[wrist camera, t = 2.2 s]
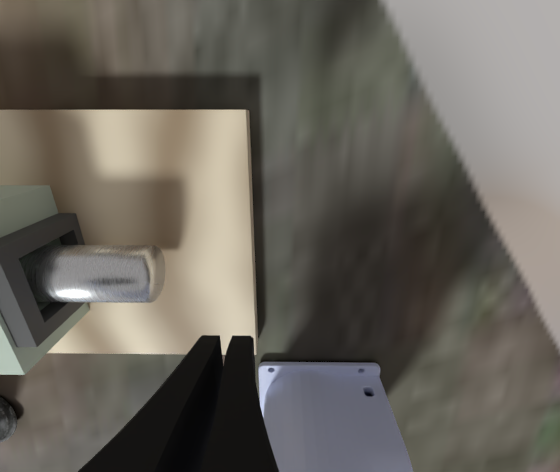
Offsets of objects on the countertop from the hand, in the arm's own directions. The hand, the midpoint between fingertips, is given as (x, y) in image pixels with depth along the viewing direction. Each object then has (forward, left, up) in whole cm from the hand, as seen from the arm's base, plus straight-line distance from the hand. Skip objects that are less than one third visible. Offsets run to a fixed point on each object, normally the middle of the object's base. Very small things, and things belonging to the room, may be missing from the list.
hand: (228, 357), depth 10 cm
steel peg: (+10, 0, -7) cm, 12 cm away
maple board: (+11, 0, -9) cm, 14 cm away
